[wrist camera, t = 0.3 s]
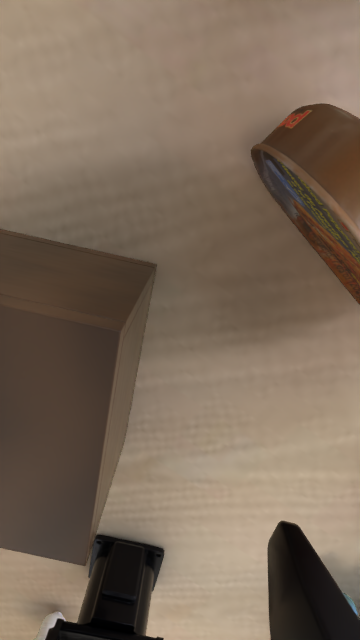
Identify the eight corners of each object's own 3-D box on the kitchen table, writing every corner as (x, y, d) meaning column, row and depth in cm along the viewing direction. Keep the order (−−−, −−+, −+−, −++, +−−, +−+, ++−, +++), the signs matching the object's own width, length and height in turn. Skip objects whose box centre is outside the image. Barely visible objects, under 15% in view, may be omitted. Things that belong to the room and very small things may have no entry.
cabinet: (-48, 405, 27) (-164, 513, 18) (-66, 213, 21) (-252, 247, 12) (124, 442, 27) (85, 566, 19) (157, 264, 21) (120, 331, 12)
